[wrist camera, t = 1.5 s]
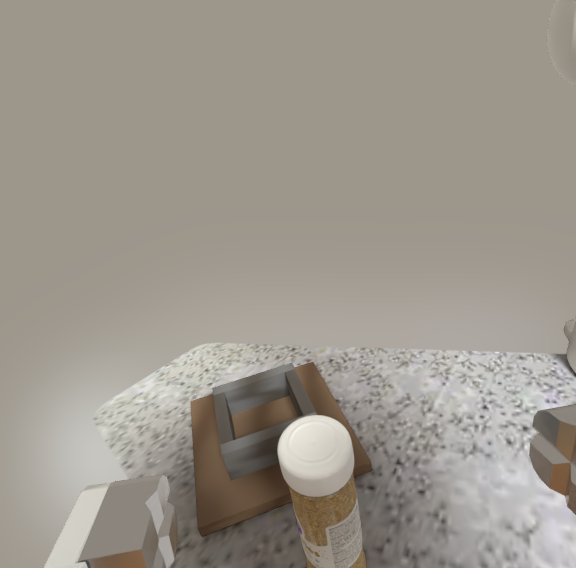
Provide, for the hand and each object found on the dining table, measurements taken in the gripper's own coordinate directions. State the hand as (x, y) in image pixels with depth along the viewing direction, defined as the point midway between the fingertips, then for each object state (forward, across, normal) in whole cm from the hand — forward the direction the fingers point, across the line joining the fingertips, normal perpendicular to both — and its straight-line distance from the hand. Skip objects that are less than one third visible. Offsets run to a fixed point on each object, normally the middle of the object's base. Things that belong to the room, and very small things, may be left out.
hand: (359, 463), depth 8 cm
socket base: (+27, +2, +21) cm, 34 cm away
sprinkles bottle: (+14, -2, +23) cm, 27 cm away
